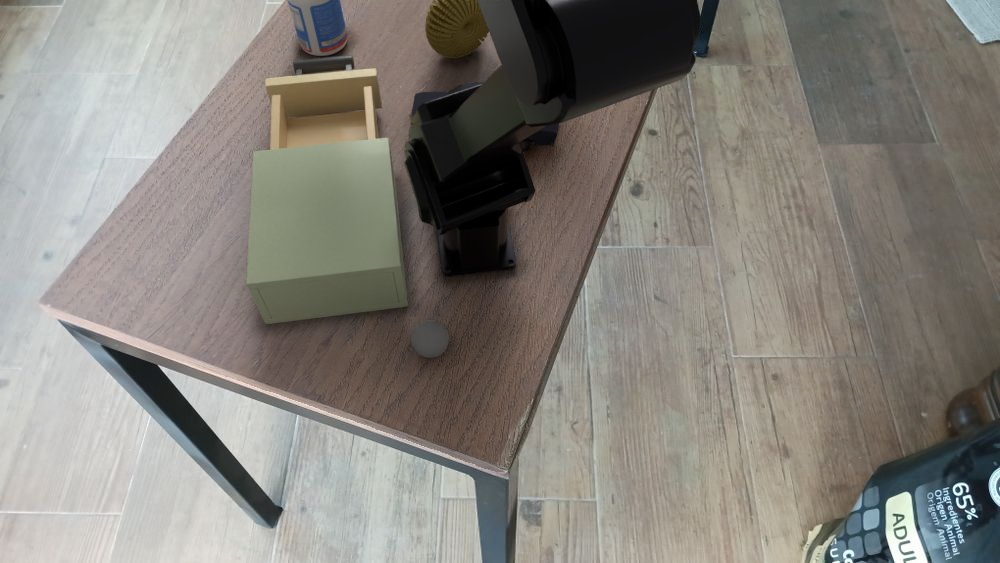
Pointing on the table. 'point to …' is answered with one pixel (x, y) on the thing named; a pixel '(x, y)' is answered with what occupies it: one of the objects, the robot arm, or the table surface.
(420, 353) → the rubber ball
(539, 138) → the toy car
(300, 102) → the drawer
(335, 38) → the pill bottle
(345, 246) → the cabinet
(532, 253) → the table surface
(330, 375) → the table surface
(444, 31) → the sculpture
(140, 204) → the table surface
